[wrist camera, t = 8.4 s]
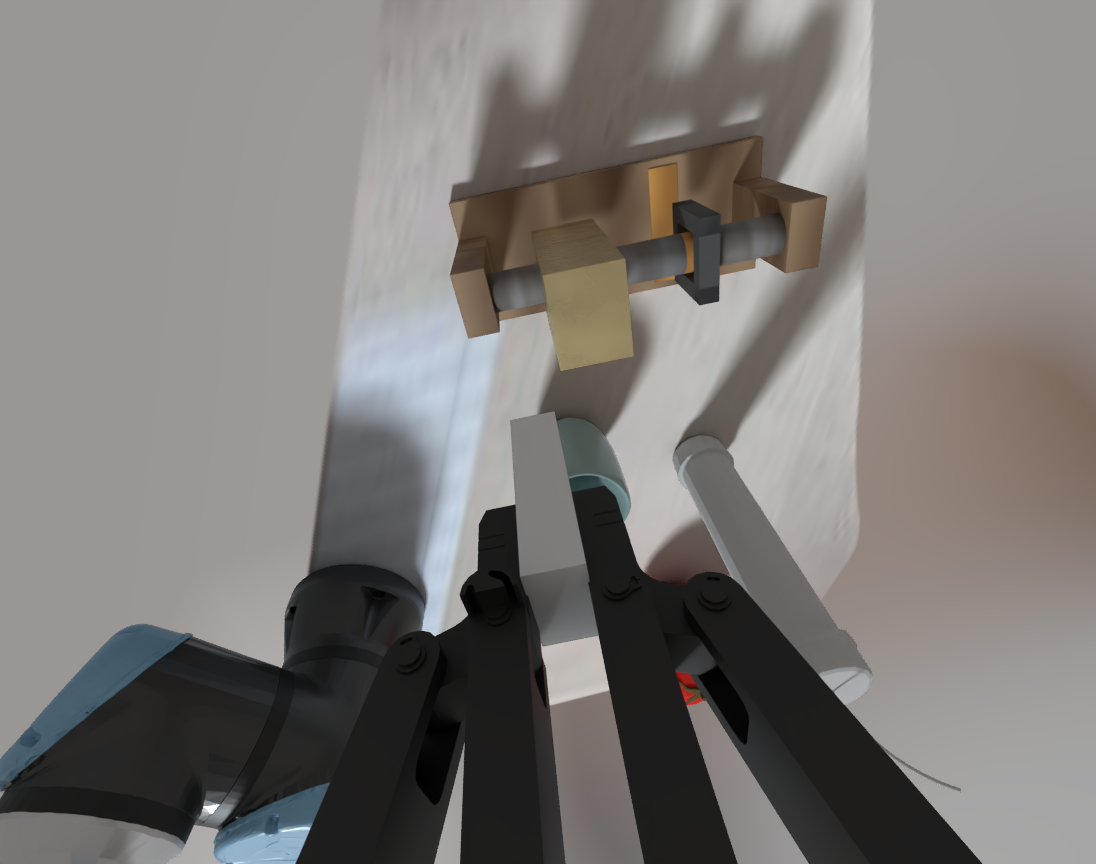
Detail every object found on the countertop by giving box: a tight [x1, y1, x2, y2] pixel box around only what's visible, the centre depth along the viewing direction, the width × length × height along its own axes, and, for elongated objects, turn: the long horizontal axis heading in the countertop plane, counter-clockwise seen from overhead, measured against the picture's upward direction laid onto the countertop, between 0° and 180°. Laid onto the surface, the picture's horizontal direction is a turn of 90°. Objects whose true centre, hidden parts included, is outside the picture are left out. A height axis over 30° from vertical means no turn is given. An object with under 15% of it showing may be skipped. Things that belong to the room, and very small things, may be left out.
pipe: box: [673, 435, 961, 793], centre depth 38 cm, size 6×6×30 cm
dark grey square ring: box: [672, 199, 721, 305], centre depth 31 cm, size 1×5×5 cm, turn 10°
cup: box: [557, 417, 631, 521], centre depth 43 cm, size 8×8×10 cm
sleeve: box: [531, 218, 634, 371], centre depth 29 cm, size 4×5×10 cm
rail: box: [449, 136, 827, 338], centre depth 33 cm, size 22×9×10 cm, turn 100°
